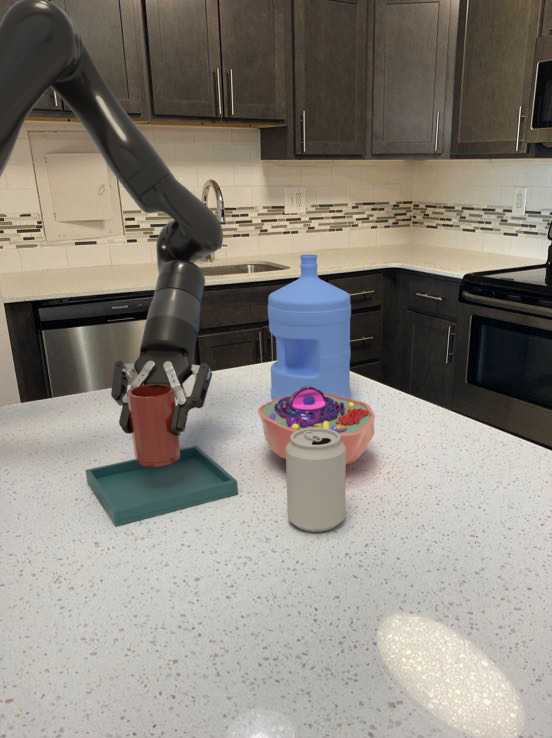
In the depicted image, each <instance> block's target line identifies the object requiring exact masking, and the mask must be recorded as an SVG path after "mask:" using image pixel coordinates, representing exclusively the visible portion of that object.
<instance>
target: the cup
mask: <svg viewBox="0 0 552 738" xmlns="http://www.w3.org/2000/svg"><path fill="white" fill-rule="evenodd" d="M130 388H131V387H130ZM130 388H129V389H130ZM129 389H127V397H128V405H129V413H130V421H131V429H132V433H131V435H132V436H131V437H132V444H133V452H134V459H136V462H137V463H138V464H139V465H142V466H147V467H159V466H165V465H169V464H172V463H174V462H176V461H177V460H179V459H180V457H181V453H180V451H181V450H180V449H181V441H180V436H174V435H173V433H172V432H171V423H172V418H173V412H174V407H175V405H177V400H176V397H175V389H174V388H171V385H165V387H161V386H155V387H152V386H148V385H142V386H139V387H134V388H131V389H130V390H129Z"/></svg>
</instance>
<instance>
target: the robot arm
mask: <svg viewBox="0 0 552 738" xmlns="http://www.w3.org/2000/svg"><path fill="white" fill-rule="evenodd" d="M50 88H51V89H52V91H54V93H56V95H57V96H58V97H59V98H60V99H61V100H62V101H63V102H64V103H65V104H66V105H67V107H68V108H69V109H70V110H71V111H72V113H73V114H74V115H75V117H76V118H77V119H78V121H79V123H80V124H81V125H82V126H83V128H84V129H85V131H86V133H87V134H88V135H89V137H90V139H91V141H92V142H93V143H94V145H95V147H96V148H97V150H98V151H99V154H100V155H101V156H102V158H103V160H104V162H105V163H106V165H107V166H108V168H109V169H110V171H111V172H112V174H113V175H114V176H115V178H116V179H117V180H118V182H119V183H120V184H121V186H122V187H123V188H124V190H125V191H126V192H127V194H128V195H129V196H130V198H131V199H132V200H133V202H134V203H135V204H136V205H137V206H138V208H139V209H140V210H141V211H142V212H143V213H145V214H150V215H151V214H156V213H164V214H166V215H167V216H169V218H172V219H173V220H171V221H169V222H167V223H166V224H165V225H164V226H163V227H162V228H161V230H160V232H159V234H158V236H157V239H156V249H155V250H156V259H157V260H156V262H157V271H158V276H157V279H156V283H155V284H156V285H155V288H154V293H153V297H152V300H151V302H150V305H149V308H148V311H147V316H146V320H145V325H144V329H143V334H142V339H141V342H140V348H139V355H138V358H137V359H136V360H135V361H134V362H131V363H129V362H128V363H124V362H123V361H122V360H117V361H116V362H115V363H114V368H113V375H112V376H113V377H112V384H111V392H110V397H111V398H112V399H113V400H114V401H115V402H116V404H117V405H118V406H121V411H120V415H119V420H118V424H119V426H120V427H121V430H122V431H123V432H124V433H125V434H131V435H132V429H131V421H130V413H129V405H128V397H127V392H128V390H130V389H131V388H134V387H139V386H142V385H148V386H152V387H155V386H161V387H165V385H171V388H174V389H175V399H176V405H175V407H174V412H173V418H172V423H171V432H172V433H173V435H174V436H179V437H180V436H181V433H183V432H185V430H186V427H187V422H188V416H189V412H190V411H191V410H192V409H195V408H197V409H201V408H203V407H204V406H205V401H206V398H207V395H208V392H209V391H208V390H209V387H210V384H211V381H212V377H213V372H212V370H211V367H210V366H209V365H208V363H207V362H201V363H200V365H199V364H193V360H194V355H195V350H196V344H197V339H198V333H199V331H200V322H201V308H202V304H203V297H204V294H205V293H204V292H205V285H206V277H205V274H204V271H203V270H202V269H201V267H199V265H197V264H195V263H196V262H198V261H200V260H202V259H204V258H205V257H207V256H209V255H212V254H213V253H216V252H217V251H218V250H219V249H220V248H221V246H222V245H223V242H224V241H223V240H224V231H223V227H222V224H221V222H220V220H219V218H218V216H217V215H216V214H215V213H214V211H212V209H211V208H210V207H209V206H207V204H205V203H204V202H203V201H202V200H200V199H199V197H197V196H196V195H195V194H194V193H193V192H192V191H190V190H189V189H188V188H187V187H186V186H185V185H183V184H182V183H181V182H180V181H178V179H177V178H176V176H174V174H173V172H171V170H170V169H169V167H168V166H167V164H166V163H165V162H164V160H163V159H162V158H161V156H160V154H159V153H158V152H157V151H156V149H155V148H154V147H153V146H152V143H150V141H149V140H148V139H147V138H146V136H145V134H143V132H142V131H141V130H140V128H139V127H138V126H137V125H136V123H135V122H134V121H133V120H132V118H131V117H130V116H129V114H128V113H127V112H126V110H125V109H124V108H123V106H122V105H121V104H120V102H119V101H118V99H117V98H116V97H115V95H114V93H113V92H112V91H111V89H110V88H109V86H108V84H107V83H106V81H105V80H104V78H103V76H102V75H101V73H100V71H99V69H98V68H97V65H96V64H95V62H94V60H93V58H92V56H91V54H90V52H89V50H88V49H87V47H86V45H85V43H84V40H83V39H82V36H81V33H80V30H79V28H78V27H77V25H76V22H75V21H74V20H73V19H72V17H70V15H69V14H68V13H67V12H65V10H63V9H62V8H61V7H60V6H58V5H56V4H55V3H53V2H52V1H50V0H18V1H16V2H15V3H14V4H12V5H11V6H10V7H9V9H8V10H7V11H6V12H5V14H4V16H3V18H2V20H1V22H0V178H1V176H2V175H3V173H4V172H5V169H6V167H7V166H8V163H9V161H10V158H11V156H12V153H13V151H14V149H15V146H16V143H17V140H18V138H19V135H20V132H21V129H22V127H23V126H24V123H25V121H26V120H27V118H28V117H29V115H30V114H31V112H32V111H33V109H34V108H35V107H36V105H37V104H38V103H39V101H40V100H41V99H42V98H43V96H45V94H46V92H47V91H48V90H49V89H50ZM134 373H136V374H137V376H136V377H135V378H134V380H133V381H132V382H131V383H130V388H128V385H129V380H132V376H133V374H134ZM192 375H193V377H194V384H193V386H192V391H191V394H190V395H189V396H188V395H187V392H186V389H185V388H184V383H185V382H186V381H187V380H188V379H189V378H190V377H191V376H192Z"/></svg>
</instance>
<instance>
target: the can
mask: <svg viewBox="0 0 552 738" xmlns="http://www.w3.org/2000/svg"><path fill="white" fill-rule="evenodd" d="M340 439H341V437H340V434H339V433H337V432H336V431H334V430H331V429H327V428H319V427H317V428H305V429H301V430H298V431H296V432H294V433H293V434H292V435H291V441H290V442H289V443H288V445H287V446H286V459H285V473H286V474H285V475H286V504H287V505H286V507H287V508H286V510H287V519H288V521H289V522H290V523H292V524H293V525H294V526H295V527H297V528H298V529H299V530H302V531H305V532H312V533H322V532H327V531H330V530H333V529H334V528H335V527H337V526H338V525H340V523H342V522H343V521H344V519H345V517H346V470H347V469H346V468H347V467H346V466H347V465H346V448H345V445H344V444H343V443H342V442H341V441H340Z"/></svg>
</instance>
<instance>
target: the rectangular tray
mask: <svg viewBox="0 0 552 738" xmlns="http://www.w3.org/2000/svg"><path fill="white" fill-rule="evenodd" d="M180 450H181V451H180V453H181V457H180V459H179V460H177V461H176V462H174V463H172V464H169V465H165V466H159V467H147V466H142V465H139V464H138V463H137V462H136V458H134V459H129V460H123V461H119V462H116V463H111V464H106V465H102V466H97V467H93V468H87V469H85V471H84V472H85V477H86V484H87V485H88V486H89V488H90V489H91V491H92V492H93V494H94V495H95V498H96V499H97V500H98V502H99V503H100V505H101V506H102V508H103V509H104V511H105V512H106V514H107V516H108V517H109V518H110V520H111V522H112V523H113V525H114V526H115V527H119V526H123V525H126V524H130V523H134V522H138V521H141V520H145V519H148V518H152V517H156V516H161V515H164V514H167V513H172V512H176V511H179V510H184V509H187V508H190V507H194V506H198V505H202V504H206V503H210V502H212V501H217V500H220V499H225V498H229V497H231V496H235V495H238V494H239V491H238V490H239V489H238V480H237V479H235V478H234V477H233V476H232V475H231V474H230V473H229V472H228V471H227V470H225V469H224V468H223V466H221V465H220V464H218V462H217V461H215V460H214V459H213V458H212V457H211V456H210V455H208V454H207V453H206V452H205V451H204V450H203V449H202V448H200V447H199V446H198V445H193V446H188V447H184V448H180ZM209 501H210V502H209Z"/></svg>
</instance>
